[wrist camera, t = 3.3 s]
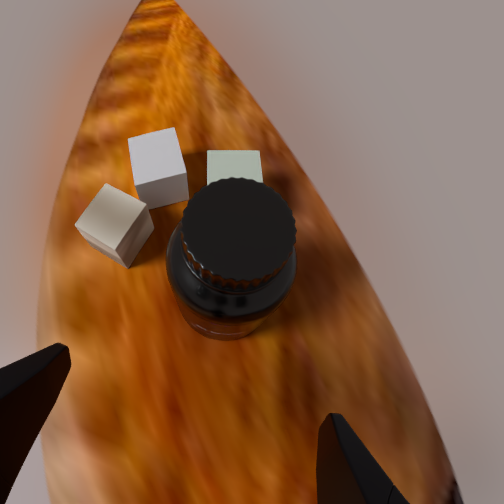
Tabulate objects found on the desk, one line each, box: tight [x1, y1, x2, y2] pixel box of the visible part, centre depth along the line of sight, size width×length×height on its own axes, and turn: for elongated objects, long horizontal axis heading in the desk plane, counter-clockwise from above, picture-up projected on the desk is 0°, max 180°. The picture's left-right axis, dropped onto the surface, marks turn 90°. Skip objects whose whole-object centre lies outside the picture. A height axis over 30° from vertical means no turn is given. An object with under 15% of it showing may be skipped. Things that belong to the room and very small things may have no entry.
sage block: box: [207, 150, 263, 185], centre depth 25 cm, size 4×4×4 cm
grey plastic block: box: [128, 127, 189, 210], centre depth 25 cm, size 5×4×4 cm
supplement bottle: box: [166, 177, 297, 341], centre depth 18 cm, size 7×7×12 cm
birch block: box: [75, 184, 154, 269], centre depth 23 cm, size 4×4×4 cm
